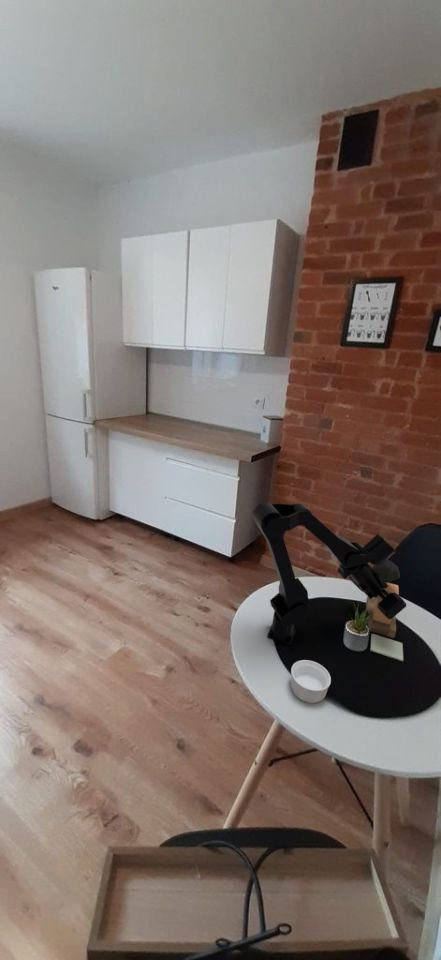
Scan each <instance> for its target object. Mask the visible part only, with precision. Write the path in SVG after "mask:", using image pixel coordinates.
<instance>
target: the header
mask: <svg viewBox="0 0 441 960" xmlns="http://www.w3.org/2000/svg"><path fill="white" fill-rule="evenodd" d="M375 600H376V598H374V597H373V598H371V599H370V598H369V597H368V596H367V595H366V604H365V610H366V609H367V611H368V614H371V617H370V620H369V622H368V626H369V629H370V632H372V633H376V634H377V635H380V636H381V635H382V636H384V637H387V638H392V639H395V636H396V634H397V622H396V621H397V620H396V616H397V615H396V616H394V617H393V618H392V621H391V624H389V625H386V624H383V623H380V622H376V621H373V608H374V604H375Z"/></svg>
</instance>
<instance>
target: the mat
mask: <svg viewBox="0 0 441 960" xmlns="http://www.w3.org/2000/svg"><path fill="white" fill-rule="evenodd" d="M370 652H374V653H377V654H380V655H383V656H386V657H388V658H391V659H395V660H398V661H400V662H404V648H403V642H400V641H397V640H394V639H390V638H389V637H386V636H381V635H379V634H374V633H371V636H370Z"/></svg>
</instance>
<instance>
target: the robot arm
mask: <svg viewBox="0 0 441 960" xmlns="http://www.w3.org/2000/svg"><path fill="white" fill-rule="evenodd" d="M252 517H253V520H254V522H255V523H256V525H257V528H258V529H259V530H260V532H261V533H262V535H263V537H264V538H265V540H266V543H267V544H266V545H267V547H268V550H269V554H270V556H271V560H272V562H273V565H274V567H275V571H276V574H277V578H278V581H279V585H278V593H277V594H275V595H274V596H273V597H272V598H271V599H270V600H269V602H270V606H271V608H272V609H273V611H274V612H273V617H272V621H271V622H272V623H271V625H270V628H269V630H268V633H267V634H266V635H267V636H266V637H267V638H268V639H271V640H274V641H277V642H280V643H282V642H283V643H282V644H285V643H286V645H288V646H290V645H292V643H293V642H292V641H293V639H294V636H295V633H296V629H295V628H294V626H299V625H300V623H301V622H302V620H303V618H304V617H305V615H306V613H307V612H308V610H309V609H310V604H311V603H312V601H311V600H310V598H309V593H308V589H307V588H306V587H305V586H304V584H303V583H302V581H301V580H300V579H299V577H296V576H295V573H294V569H293V565H292V562H291V559H290V556H289V552H288V549H287V546H286V543H285V535H286V532H287V531H288V532H289V531H291V530H293V529H295V528H296V527H297V528H298V527H299V526H303V527H304V528H305V529H306V530H307V531H308V532H310V533H311V534H312V535H313V536H314V537H315V538H317V539H318V540H319V541H320V542H322V544H324V545H325V548H326V549H327V550H328V552H329V553H330V554H331V555H332V557H333V558H335V560H337V562H338V563H339V564H340V565H339V567H338V568H337V573H338V574H340V576H341V577H342V578H343V579H349V580H350V581H351V583H353V585H355V586H356V587H357V588H358V589H359V590H360V591H361V592H363V593H364V594H365V595H366V597H367V596H368V597H369V598H370V599H371V598H373V597H374V598H376V596H378V595H379V596H380V597H381V598H382V599H383V600H382V601H380V602H379V603H378V606H377V608H378V609H379V610H380V611H381V612H382V613H383V614H384V615H385V616H386V617H387V619H392V618H393V617H394V616H397V615H398V614H399V613H401V612H402V611H403V610H404V609H405V608H406V607H407V603H406V601H405V600H404V599H403V598H402V597H401V596H400V595H397V594H396V593H395V592H394V593H390V594H389V593H388V592H387V591H386V590H384V589H386V588H387V587H388V585H387V583H391V582H393V581H395V580H399V579H400V577H401V575H400V569H399V568H400V567H399V566H397V564H395V563H394V562H393V561H392V560H388V559H389V558H390V557H391V556H392V555H394V554H395V553H396V550H395V549H394V547H393V546H392V545H390V544H389V543H388V542H387V540H385V539H384V537H382V536H381V535H380V534H376V535H375V536H373V538H372V539H371V540H369V541H368V542H367V543H366V544H365V545H363V546H362V545H361V544H360V543H359V542H357V541H350V540H348V539H347V538H345V537H343V536H341V535H339V534H337V533H335V532H333V531H332V530H331V529H330V528H328V527H327V525H325V524H324V523H323V522H322V521H321V520H319V519H318V518H317V517H316V516H315V515H314V514H313V513H312V511H311V509H309V508H307V506H305V505H304V504H302V503H297V502H296V503H281V502H277V503H276V502H275V503H270V502H262V503H259V504H258V505H257V506H256V507H255V508H254V510H253V511H252ZM369 563H370V564H371V565H370V564H369ZM383 588H384V589H383ZM382 593H384V595H385V596H386V597H385V596H384V595H383V594H382Z"/></svg>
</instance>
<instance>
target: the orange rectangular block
mask: <svg viewBox="0 0 441 960" xmlns="http://www.w3.org/2000/svg"><path fill="white" fill-rule="evenodd" d="M387 585H388V587H387V588H386V589H384V588H383V589H384V590H386V591H387V592H388V593H389V594H390V593H394V592H395V593H396V594H397V595H398V596H400V594H399V593H400V591H399V585H398V584H394V583H391V582H389V583H387ZM382 594H383V595H384V593H382ZM384 596H385V595H384ZM385 597H386V596H385ZM382 600H383V599H382V598H381V597H380V596H379V595H378V596H376V600H375V604H374V608H373V621H376V622H380V623H383V624H386V625H389V624H391V621H392V619H387V617H386V616H385V615H384V614H383V613H382V612H381V611H380V610H379V609H378V608H377V606H378V603H379V602H380V601H382Z"/></svg>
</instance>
